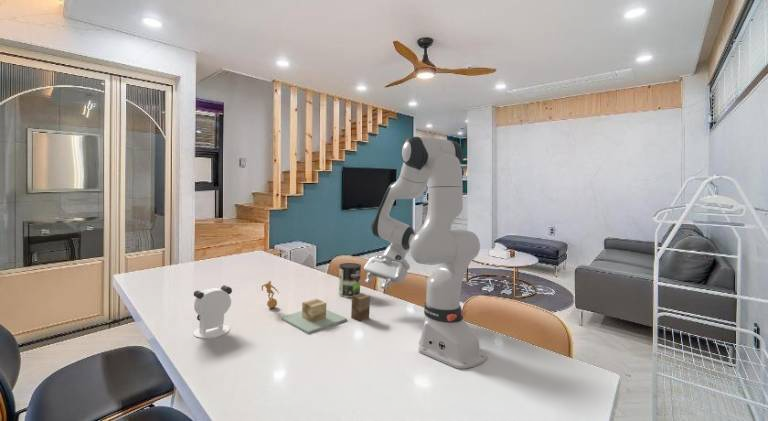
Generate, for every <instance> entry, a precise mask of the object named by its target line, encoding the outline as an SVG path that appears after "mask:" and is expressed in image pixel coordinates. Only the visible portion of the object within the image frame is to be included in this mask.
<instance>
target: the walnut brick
mask: <svg viewBox="0 0 768 421" xmlns="http://www.w3.org/2000/svg"><path fill="white" fill-rule="evenodd" d="M370 304H371V296H370V295H368V294H364V293H361V292H360V294H357V295H353V296H352V297H351V310H350V311H351V312H350V314H351V315H350V316H351V319H352V320H355V321H356V322H359V323H360V322H363V321H368V320H369V319H370Z"/></svg>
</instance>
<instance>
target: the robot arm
mask: <svg viewBox="0 0 768 421" xmlns="http://www.w3.org/2000/svg"><path fill="white" fill-rule="evenodd" d="M400 155H401V160H402V165H401V170H400V174H399V177H398V178H397V180H396V181H393V182H391V183H390V184H389V186H388V187H387V189H386V191H385V194H384V196H383V198H382V201H381V203H380V205H379V207H378V210H377V212H376V215H375V216H374V218H373V220H372V222H371V225H370V229H371V232H372V235H373V236H374V237H376V238H380V239H383V240H385V241H387V242H389V243H390V244H389V245H388V246H386V249H385V250H384V252H382V255H378V254H377V255H375V256H372V257H371V258H370V259H369V260H368V261H367V263H366V264H365V265H364V266H363V270H364V271H363V272H365V274H366V279H364V282H365V284H367V285H370V284H371V283H372V280H371V278H372V277H373V276H374V277H377V278H379V279H383V280H387V281H385V283H382V285H381V289H382V290H387V288H388V287H390V286H391V285H393V283H396V284H401V283H403V281H404V280H405V278H406V276H407V274H408V271H409V270H410V269H411V266H410V264H409V262H408V261H407V260H406V259H405V258H406V255H407V253H410V257H412V259H413V261H414V262H416V263H417V264H422V265H427V266H436V265H438V266H437V269H436V270H435V272H433V273H432V274H431V275H430V276H429V277H428V279H427V281H426V291H425V292H426V293H425V294H426V297H425V298H426V299H425V301H424V307H423V313H424V315H425V316H424V319H423V320H424V321H423V326H422V331H421V335H420V339H419V341H418V344H419V347H418V352H419V353H421V354H423V355H425V356H427V357H430V358H432V359H434V360H436V361H439V362H441V363H443V364H446V365H449V366H450V367H453V368H454V369H455V368H456V369H457V370H458V369H460V370H461V369H463V370H464V369H470V368H473V367H476V366H479V365H481V364H483V363H484V362H485V361H486V360H487V353H486V352H485V351H483V350H481V349H480V341H479V337H478V336H477V334H476V333H475V332H474V330H472V328H471V327H470V325H469V324H468V323H467V321H465V320H464V316H465V315H467V314H466V313H467V311H466V310H465V311H463V310H462V306H461V305H460V304H461V290H462V283H463V280H464V277H465V274H466V272H467V269H468V268H469V266H470V264H471V262H472V261H473V260H475V259H476V257H478V255H479V253H480V249H481V243H480V239H479V237H478V235H477V234H476V233H475V232H474V231H469V230H465V229H451V228H452V225H453V223H454V221H455V219H456V218H458V217H459V216H460V215H461V214H462V212H463V208H464V207H463V206H464V205H463V202H464V200H463V198H464V197H463V195H464V194H463V193H464V192H463V191H464V190H463V189H464V186H463V173H462V167H461V162H462V159H463V156H464V154H463V149H462V145H461V144H460V143H459V142H457V141H454V140H453V139H452V140H451V139H443V138H439V137H438V138H436V137H432V136H431V137H429V136H420V137H419V136H411V137H408V138H406V139H405V141H404V142H403V144H402V147H401V154H400ZM427 187H428V188H427ZM426 188H427V189H428V197H427V198H428V199H427V200H428V201H427V213H426V217H425V220H424V221H423V224H422V225H421V226H420V227H421V228H420V229H419V230H418V231H417V232H416V230H415V229H414V228H413V227H412V226H410V225H409V224H407V223H404V222H403V221H400V220H397V219H396V218H393V217H391V216H390V212H391V210H392V208H393V206H394V203H395V201H396V200H411V199H417V198H419V197H420V196H422V195H423V194H424V193H425V192H426Z"/></svg>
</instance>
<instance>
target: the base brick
mask: <svg viewBox="0 0 768 421" xmlns="http://www.w3.org/2000/svg"><path fill="white" fill-rule="evenodd" d="M301 307H302V309H301V311H302V318H304V319H306V320H308V321H310V322H315V321H318V320H322V319H325V318H326V310H327V302H325V301H323V300H320V299H318V298H313V299H311V300H306V301H303V302H302V304H301Z"/></svg>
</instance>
